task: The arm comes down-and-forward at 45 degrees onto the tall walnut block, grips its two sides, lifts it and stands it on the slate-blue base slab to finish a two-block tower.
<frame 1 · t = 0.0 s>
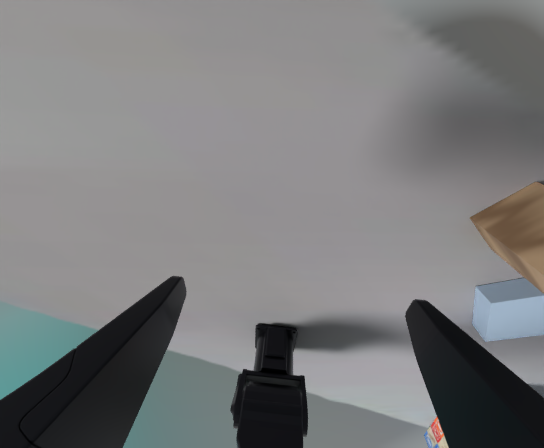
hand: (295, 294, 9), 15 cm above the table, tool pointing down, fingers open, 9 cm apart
stack of blocks: (449, 417, 49), on the table
walnut block: (511, 218, 22), on the table
base slab: (510, 300, 28), on the table
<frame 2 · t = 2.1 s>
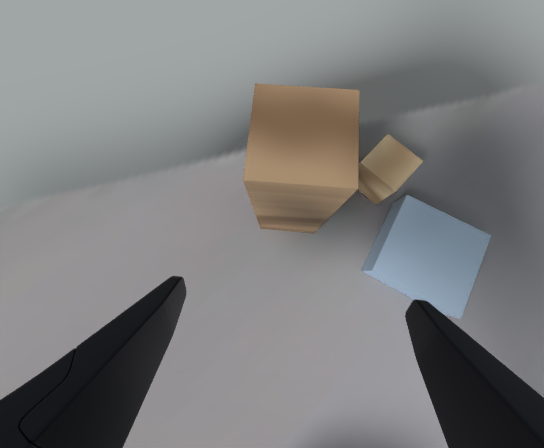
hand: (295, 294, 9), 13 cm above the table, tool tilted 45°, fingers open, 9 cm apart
walnut block: (289, 205, 23), on the table
base slab: (415, 255, 22), on the table
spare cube: (372, 179, 24), on the table
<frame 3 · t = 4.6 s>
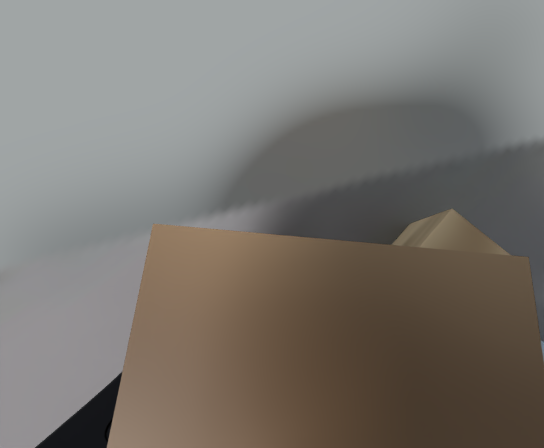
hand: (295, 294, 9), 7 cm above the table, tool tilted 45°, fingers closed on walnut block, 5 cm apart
walnut block: (285, 305, 15), on the table, touching gripper
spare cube: (414, 263, 15), on the table
when the fingers open (10 cm above the table, at t = 8.2 s): walnut block stays where it is, resting on base slab.
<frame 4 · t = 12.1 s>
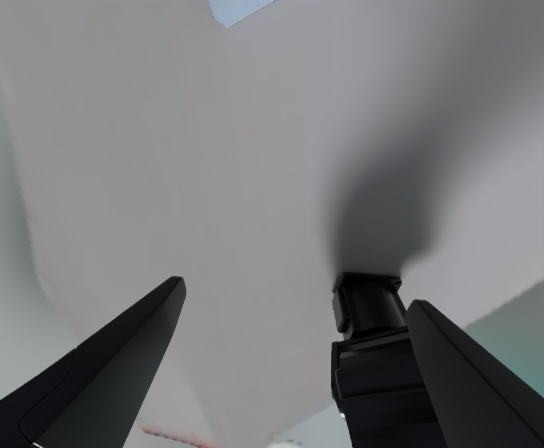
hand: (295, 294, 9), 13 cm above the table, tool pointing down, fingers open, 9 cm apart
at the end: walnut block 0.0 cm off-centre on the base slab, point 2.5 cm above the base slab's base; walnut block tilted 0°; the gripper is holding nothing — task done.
